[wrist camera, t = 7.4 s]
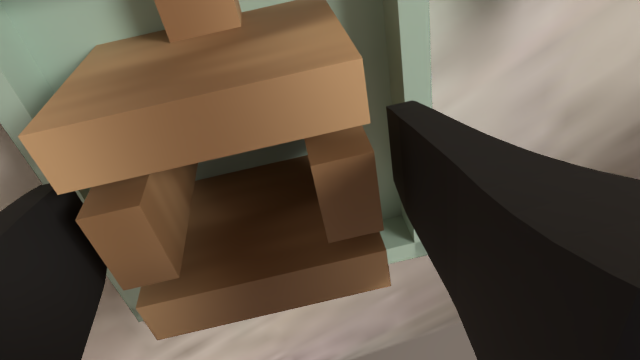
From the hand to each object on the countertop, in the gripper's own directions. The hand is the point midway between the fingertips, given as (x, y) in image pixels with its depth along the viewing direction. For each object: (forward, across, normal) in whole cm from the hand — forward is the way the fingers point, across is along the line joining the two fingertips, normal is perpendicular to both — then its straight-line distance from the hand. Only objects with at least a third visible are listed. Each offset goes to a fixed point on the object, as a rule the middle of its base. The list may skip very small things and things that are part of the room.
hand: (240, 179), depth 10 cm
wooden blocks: (+3, 0, 0) cm, 3 cm away
